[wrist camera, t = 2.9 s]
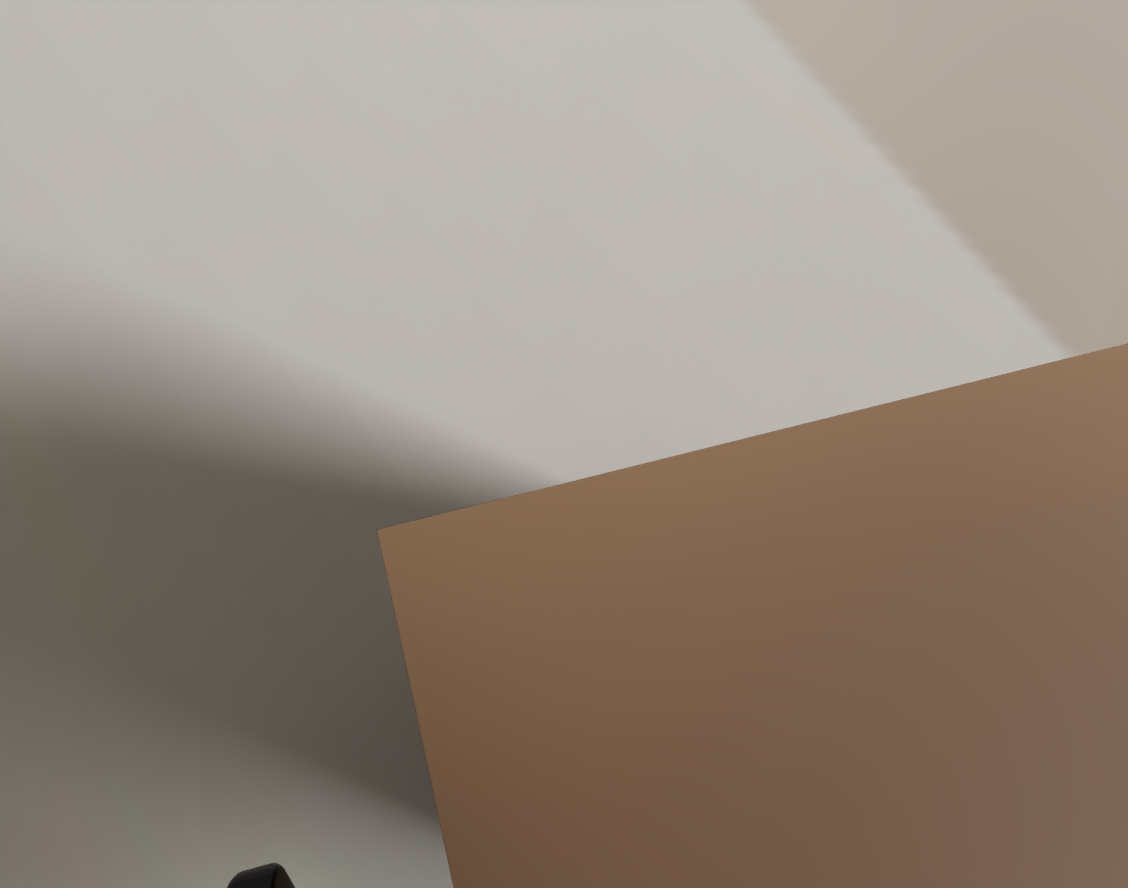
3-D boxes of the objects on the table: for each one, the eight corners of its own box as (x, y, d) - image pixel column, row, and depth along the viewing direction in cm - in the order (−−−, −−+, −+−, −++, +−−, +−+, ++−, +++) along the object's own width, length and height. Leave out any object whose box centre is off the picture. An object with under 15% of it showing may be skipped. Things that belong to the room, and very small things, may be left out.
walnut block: (807, 805, 17) (1649, 1301, 4) (561, 873, 16) (618, 1657, 4) (734, 557, 18) (1232, 316, 5) (500, 618, 17) (377, 528, 5)
